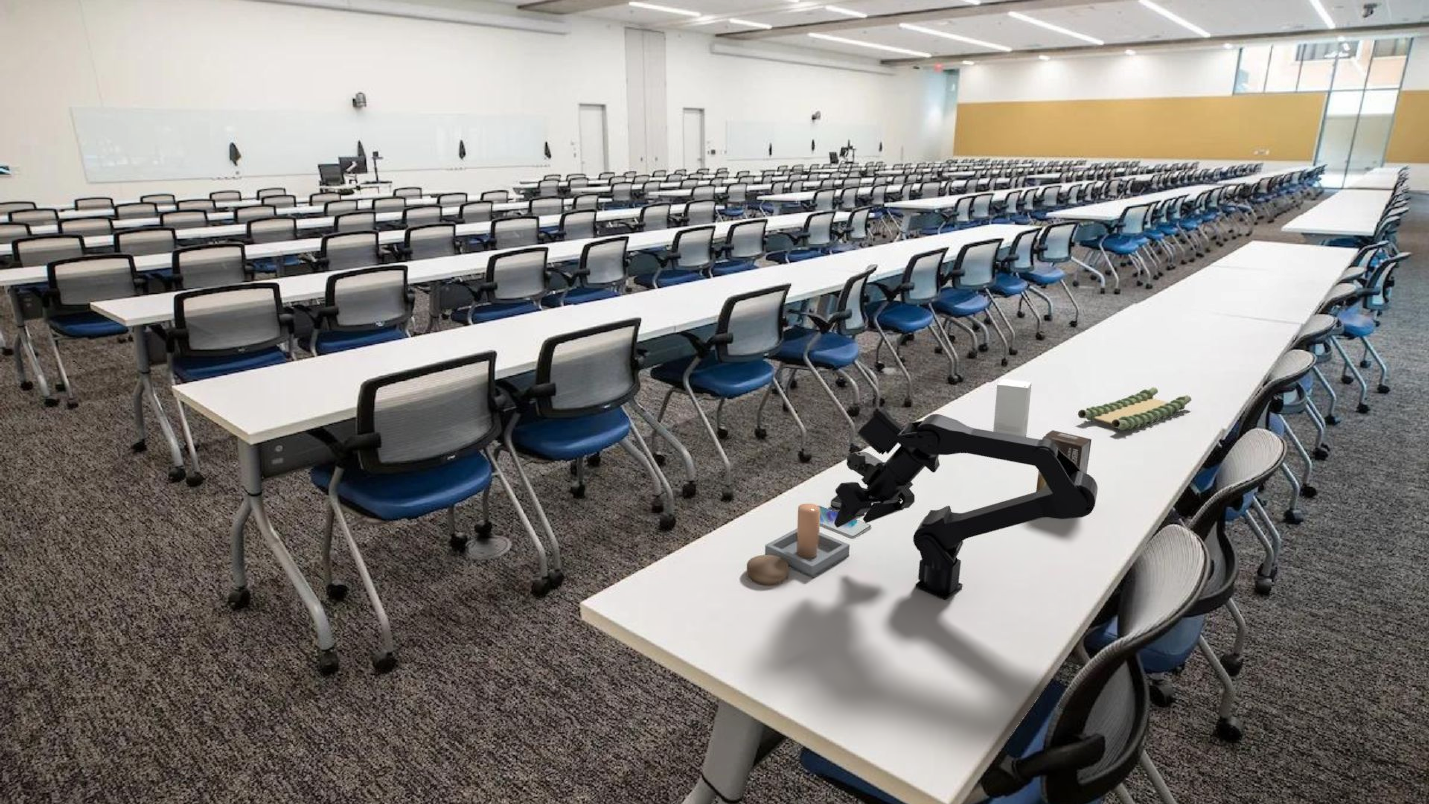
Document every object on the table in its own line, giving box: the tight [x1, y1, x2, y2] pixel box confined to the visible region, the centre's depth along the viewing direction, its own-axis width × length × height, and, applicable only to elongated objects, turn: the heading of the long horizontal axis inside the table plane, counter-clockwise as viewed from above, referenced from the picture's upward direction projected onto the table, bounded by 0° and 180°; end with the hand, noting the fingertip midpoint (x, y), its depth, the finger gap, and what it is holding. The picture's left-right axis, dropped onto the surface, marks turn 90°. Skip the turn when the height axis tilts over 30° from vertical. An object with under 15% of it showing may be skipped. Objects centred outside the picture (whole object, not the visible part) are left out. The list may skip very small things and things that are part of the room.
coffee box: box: [1035, 430, 1092, 492], centre depth 180 cm, size 9×6×16 cm
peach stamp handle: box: [796, 503, 821, 559], centre depth 158 cm, size 4×4×10 cm
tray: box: [764, 528, 851, 579], centre depth 159 cm, size 12×12×2 cm
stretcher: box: [1077, 387, 1192, 431], centre depth 238 cm, size 41×14×5 cm, turn 124°
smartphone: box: [816, 504, 872, 539], centre depth 174 cm, size 7×1×15 cm
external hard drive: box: [830, 487, 868, 511], centre depth 183 cm, size 7×11×2 cm, turn 146°
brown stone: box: [746, 554, 789, 586], centre depth 153 cm, size 8×8×2 cm
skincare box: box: [992, 378, 1032, 437], centre depth 222 cm, size 8×7×16 cm
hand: (850, 523), depth 153 cm, fingers open, 9 cm apart
